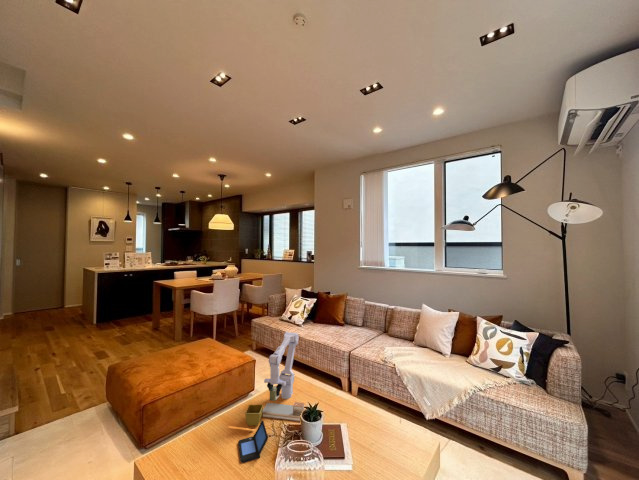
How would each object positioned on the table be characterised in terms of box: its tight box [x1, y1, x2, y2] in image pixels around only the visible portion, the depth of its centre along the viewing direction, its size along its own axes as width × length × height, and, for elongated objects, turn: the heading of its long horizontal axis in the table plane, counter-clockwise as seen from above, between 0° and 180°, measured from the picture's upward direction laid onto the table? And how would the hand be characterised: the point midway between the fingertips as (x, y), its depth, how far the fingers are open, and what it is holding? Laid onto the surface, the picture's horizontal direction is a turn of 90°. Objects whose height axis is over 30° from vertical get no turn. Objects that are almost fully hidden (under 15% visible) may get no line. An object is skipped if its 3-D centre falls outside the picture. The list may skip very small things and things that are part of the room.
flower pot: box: [244, 404, 264, 427], centre depth 158 cm, size 9×9×9 cm
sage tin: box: [269, 385, 280, 402], centre depth 171 cm, size 4×6×6 cm
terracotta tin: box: [293, 401, 305, 416], centre depth 165 cm, size 4×6×6 cm
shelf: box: [261, 402, 301, 422], centre depth 168 cm, size 15×30×3 cm, turn 79°
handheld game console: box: [238, 420, 269, 464], centre depth 138 cm, size 16×13×9 cm
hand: (274, 395), depth 171 cm, fingers closed on sage tin, 4 cm apart
